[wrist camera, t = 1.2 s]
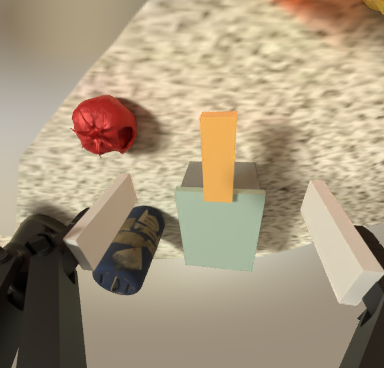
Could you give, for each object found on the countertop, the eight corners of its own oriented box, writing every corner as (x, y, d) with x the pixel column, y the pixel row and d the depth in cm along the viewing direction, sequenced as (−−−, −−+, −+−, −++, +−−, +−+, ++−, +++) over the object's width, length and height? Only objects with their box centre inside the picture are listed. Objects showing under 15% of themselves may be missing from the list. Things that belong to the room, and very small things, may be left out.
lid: (186, 259, 41) (184, 268, 39) (165, 113, 24) (160, 118, 22) (251, 266, 38) (252, 275, 37) (278, 109, 22) (281, 114, 20)
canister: (173, 217, 47) (147, 293, 33) (155, 236, 52) (126, 308, 38) (138, 196, 45) (94, 267, 31) (123, 218, 50) (79, 287, 36)
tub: (195, 227, 48) (189, 259, 41) (189, 161, 38) (179, 188, 30) (246, 230, 46) (249, 265, 38) (254, 162, 36) (260, 192, 28)
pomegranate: (79, 114, 36) (39, 131, 28) (112, 78, 31) (75, 88, 24) (119, 155, 40) (93, 180, 32) (153, 128, 35) (132, 150, 28)
